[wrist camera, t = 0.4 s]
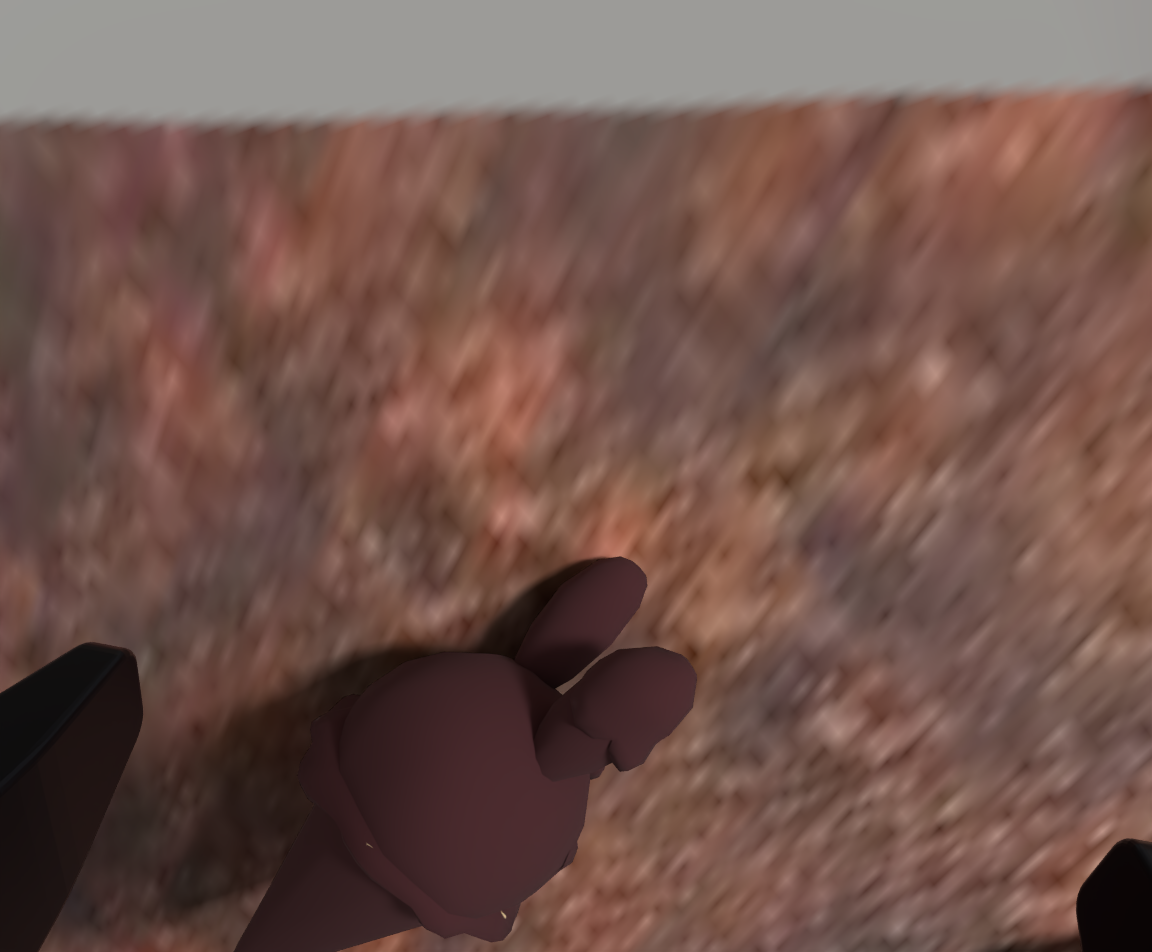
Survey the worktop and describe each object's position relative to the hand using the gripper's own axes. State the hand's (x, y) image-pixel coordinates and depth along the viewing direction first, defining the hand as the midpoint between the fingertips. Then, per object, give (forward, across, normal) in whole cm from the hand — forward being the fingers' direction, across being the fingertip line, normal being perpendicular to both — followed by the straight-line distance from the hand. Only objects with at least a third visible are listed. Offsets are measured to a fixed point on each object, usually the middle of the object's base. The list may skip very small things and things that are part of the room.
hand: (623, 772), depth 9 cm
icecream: (+12, +2, +14) cm, 19 cm away
